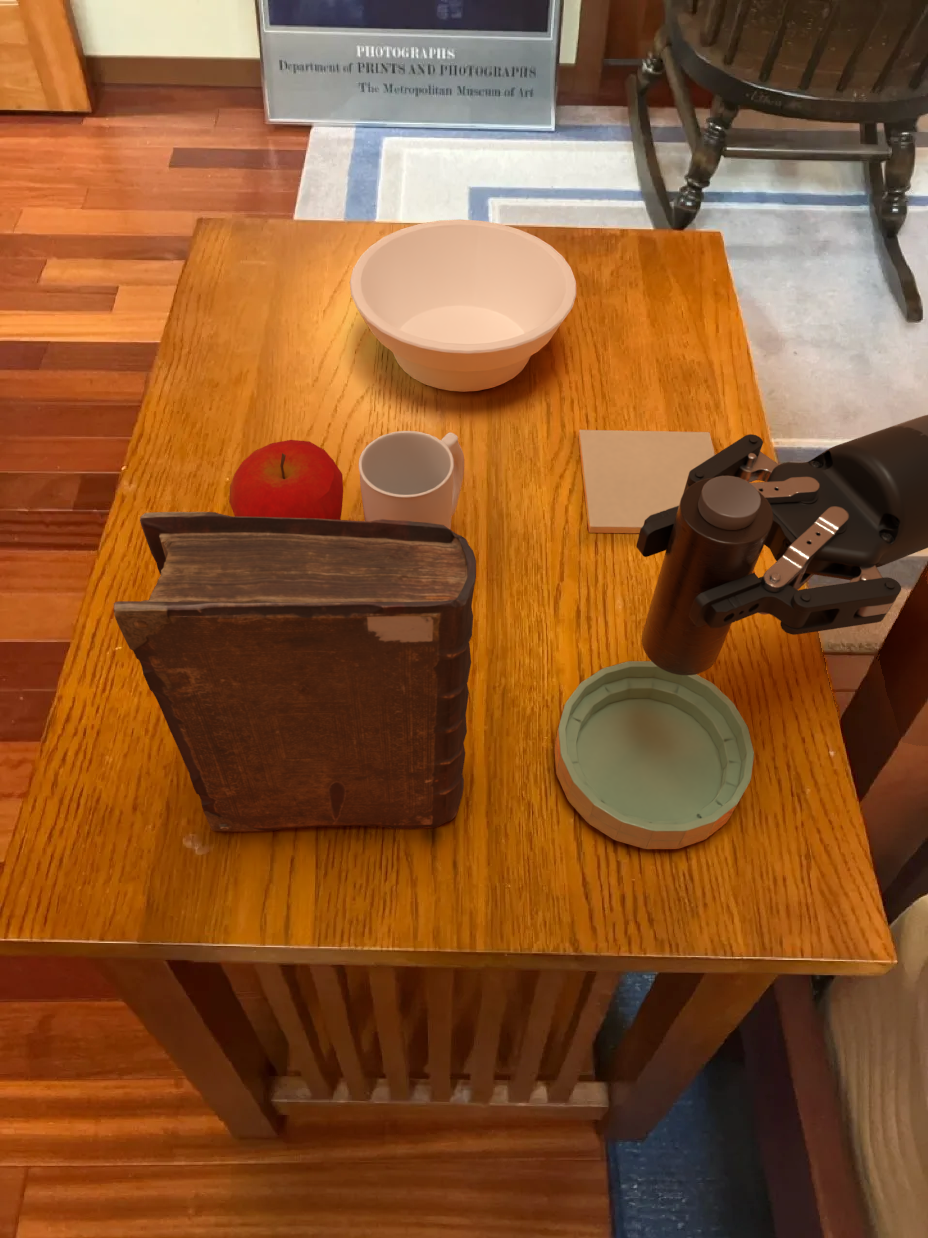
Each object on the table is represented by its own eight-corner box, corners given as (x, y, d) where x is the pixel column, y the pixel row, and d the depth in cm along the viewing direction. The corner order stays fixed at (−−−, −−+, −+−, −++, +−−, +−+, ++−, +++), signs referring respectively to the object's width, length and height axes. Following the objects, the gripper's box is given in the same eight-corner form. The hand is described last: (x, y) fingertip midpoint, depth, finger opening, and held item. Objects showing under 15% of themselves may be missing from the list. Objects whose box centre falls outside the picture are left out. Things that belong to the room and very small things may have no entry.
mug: (415, 618, 73) (411, 511, 63) (351, 576, 75) (338, 467, 65) (492, 543, 78) (500, 433, 68) (430, 506, 80) (429, 395, 70)
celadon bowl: (769, 746, 66) (784, 721, 64) (687, 891, 60) (699, 870, 57) (611, 658, 71) (618, 631, 68) (518, 784, 64) (522, 760, 61)
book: (467, 765, 65) (481, 521, 45) (458, 861, 61) (468, 639, 41) (232, 743, 66) (142, 492, 46) (206, 837, 61) (95, 606, 41)
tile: (707, 438, 86) (709, 431, 85) (730, 535, 79) (732, 528, 78) (578, 435, 86) (579, 429, 85) (588, 532, 78) (589, 526, 78)
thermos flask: (731, 636, 58) (794, 488, 48) (697, 689, 56) (755, 544, 45) (663, 601, 60) (709, 450, 49) (627, 651, 57) (667, 503, 47)
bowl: (333, 408, 87) (324, 334, 81) (380, 280, 100) (376, 207, 93) (556, 436, 86) (566, 363, 79) (575, 303, 98) (585, 230, 92)
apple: (297, 507, 79) (277, 398, 70) (373, 552, 77) (364, 444, 67) (225, 569, 75) (195, 462, 66) (304, 618, 72) (283, 514, 63)
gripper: (854, 364, 56) (610, 442, 52) (1032, 524, 48) (764, 632, 44) (814, 457, 62) (593, 534, 58) (967, 612, 54) (726, 715, 50)
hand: (669, 575), depth 51 cm, fingers closed on thermos flask, 5 cm apart
